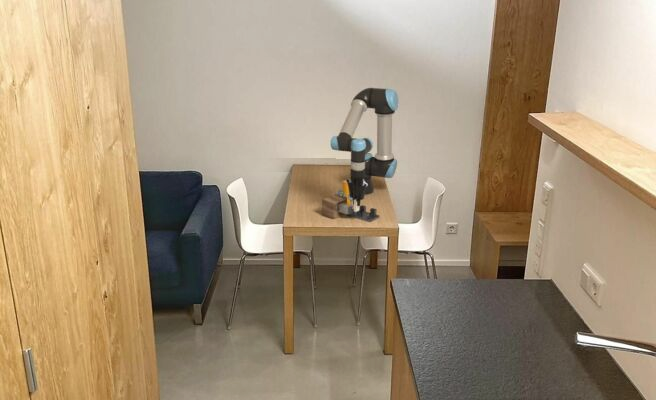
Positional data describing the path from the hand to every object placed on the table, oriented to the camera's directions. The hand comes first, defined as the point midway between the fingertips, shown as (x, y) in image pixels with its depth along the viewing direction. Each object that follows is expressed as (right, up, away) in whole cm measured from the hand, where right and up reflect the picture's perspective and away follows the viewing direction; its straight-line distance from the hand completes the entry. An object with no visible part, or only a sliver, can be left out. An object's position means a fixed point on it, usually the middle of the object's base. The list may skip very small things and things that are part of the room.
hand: (356, 210), depth 329 cm
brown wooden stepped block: (-12, -2, +10) cm, 16 cm away
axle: (-9, 0, +7) cm, 12 cm away
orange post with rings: (-5, +2, +24) cm, 24 cm away
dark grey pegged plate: (+3, -3, +9) cm, 10 cm away
